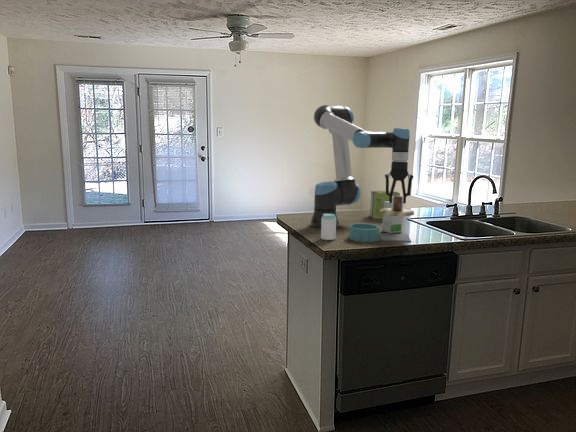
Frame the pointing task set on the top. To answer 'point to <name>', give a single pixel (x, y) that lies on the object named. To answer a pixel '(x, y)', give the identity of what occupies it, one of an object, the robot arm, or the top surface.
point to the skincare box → (391, 221)
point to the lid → (397, 209)
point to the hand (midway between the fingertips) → (396, 209)
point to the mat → (394, 237)
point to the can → (328, 227)
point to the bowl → (364, 232)
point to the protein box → (379, 203)
